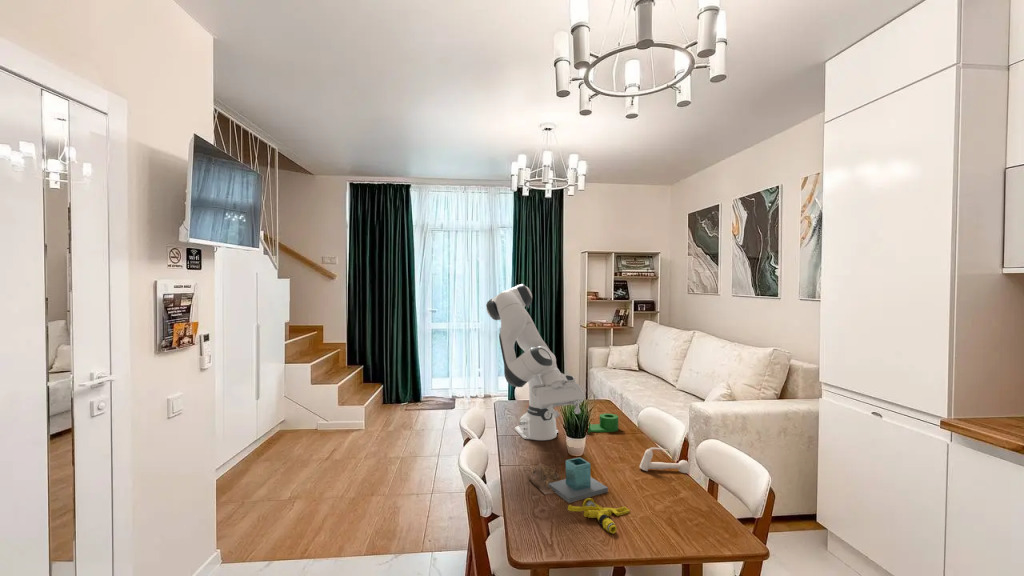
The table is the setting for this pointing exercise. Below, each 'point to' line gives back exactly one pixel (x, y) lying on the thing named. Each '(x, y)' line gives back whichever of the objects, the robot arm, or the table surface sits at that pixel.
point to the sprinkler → (599, 513)
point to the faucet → (661, 463)
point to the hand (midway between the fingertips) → (568, 414)
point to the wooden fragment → (544, 478)
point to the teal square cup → (578, 473)
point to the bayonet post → (573, 495)
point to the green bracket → (605, 424)
